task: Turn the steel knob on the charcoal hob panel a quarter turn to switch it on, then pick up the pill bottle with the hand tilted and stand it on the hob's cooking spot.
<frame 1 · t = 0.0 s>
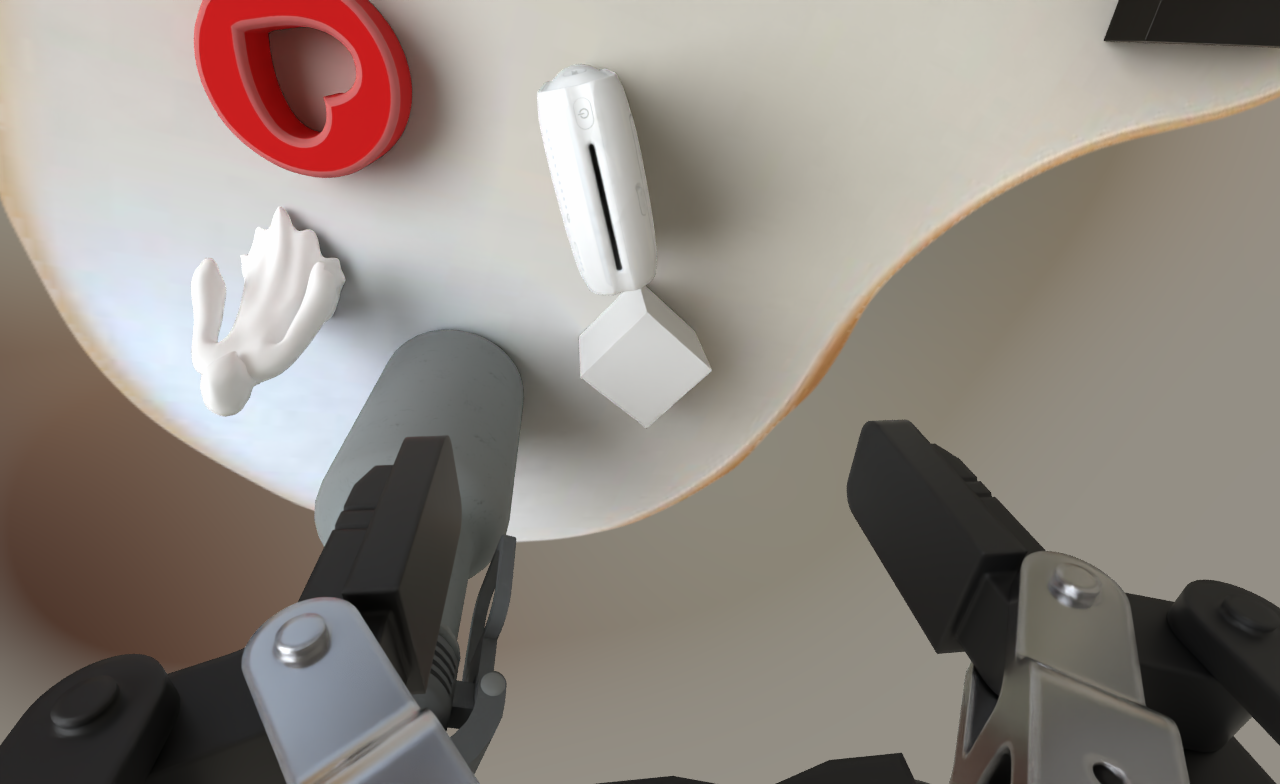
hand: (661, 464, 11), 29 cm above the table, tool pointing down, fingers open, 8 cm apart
water bottle: (460, 385, 43), on the table
decorative ornament: (321, 75, 32), on the table
white cube: (636, 332, 43), on the table
figurine: (298, 268, 38), on the table
photo printer: (593, 156, 36), on the table
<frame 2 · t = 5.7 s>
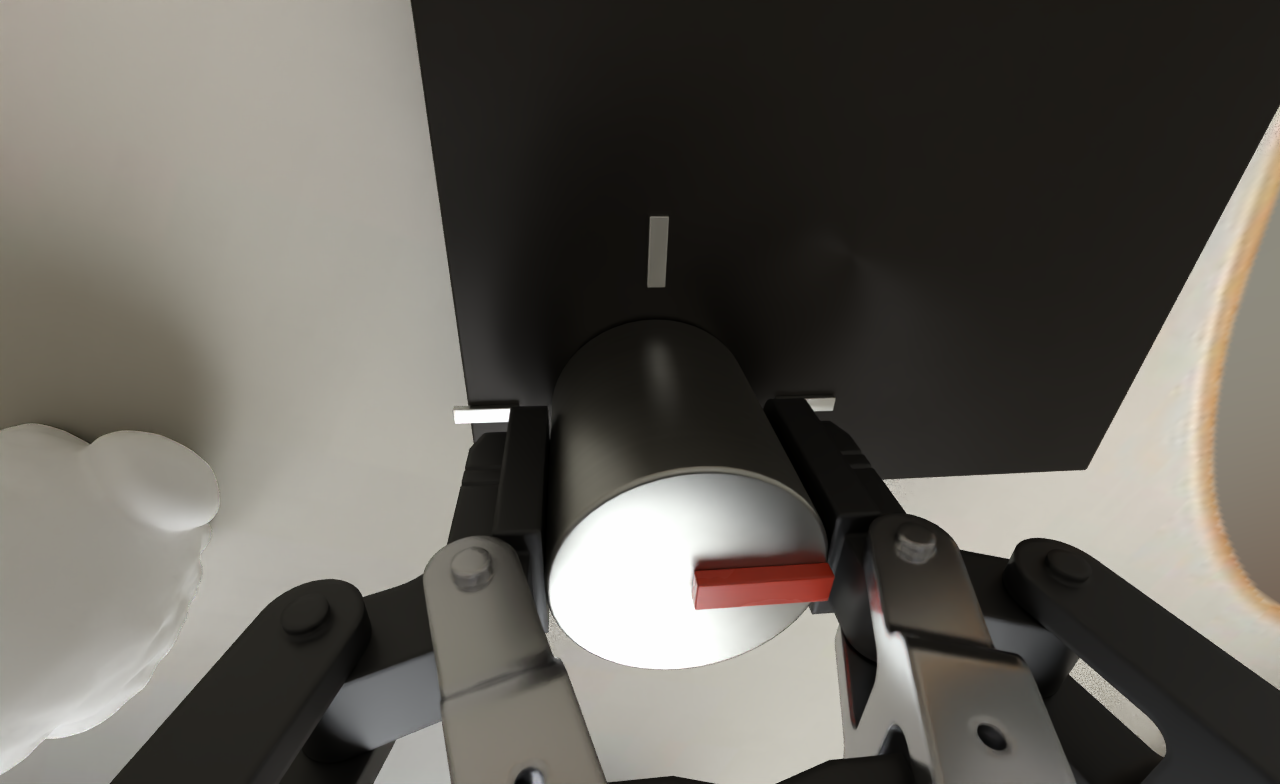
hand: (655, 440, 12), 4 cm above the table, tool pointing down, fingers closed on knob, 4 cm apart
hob: (801, 216, 14), on the table
rabbit: (48, 527, 17), on the table
knob: (667, 483, 11), point 6 cm above the table, hinge at 0.0°, touching gripper
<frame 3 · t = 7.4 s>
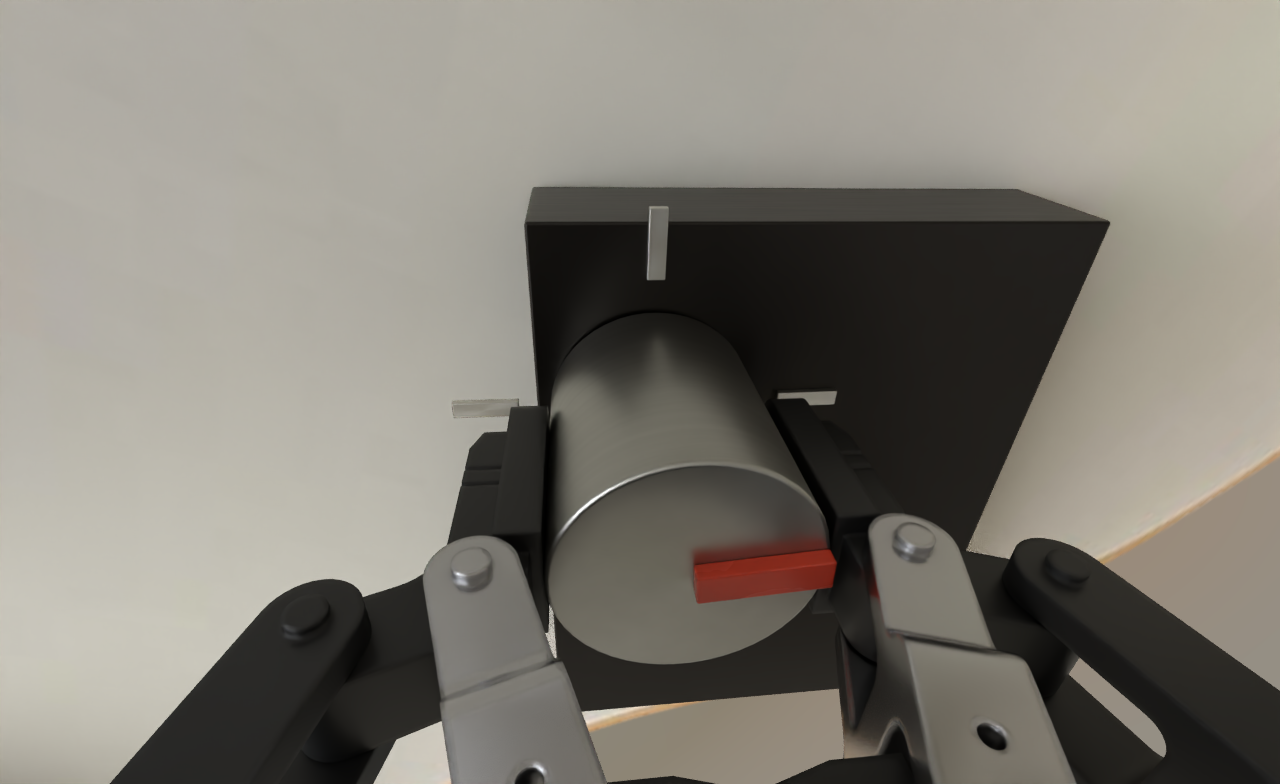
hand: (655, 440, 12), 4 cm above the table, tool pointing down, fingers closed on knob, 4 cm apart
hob: (745, 454, 18), on the table
knob: (667, 477, 11), point 6 cm above the table, hinge at 94.4°, touching gripper
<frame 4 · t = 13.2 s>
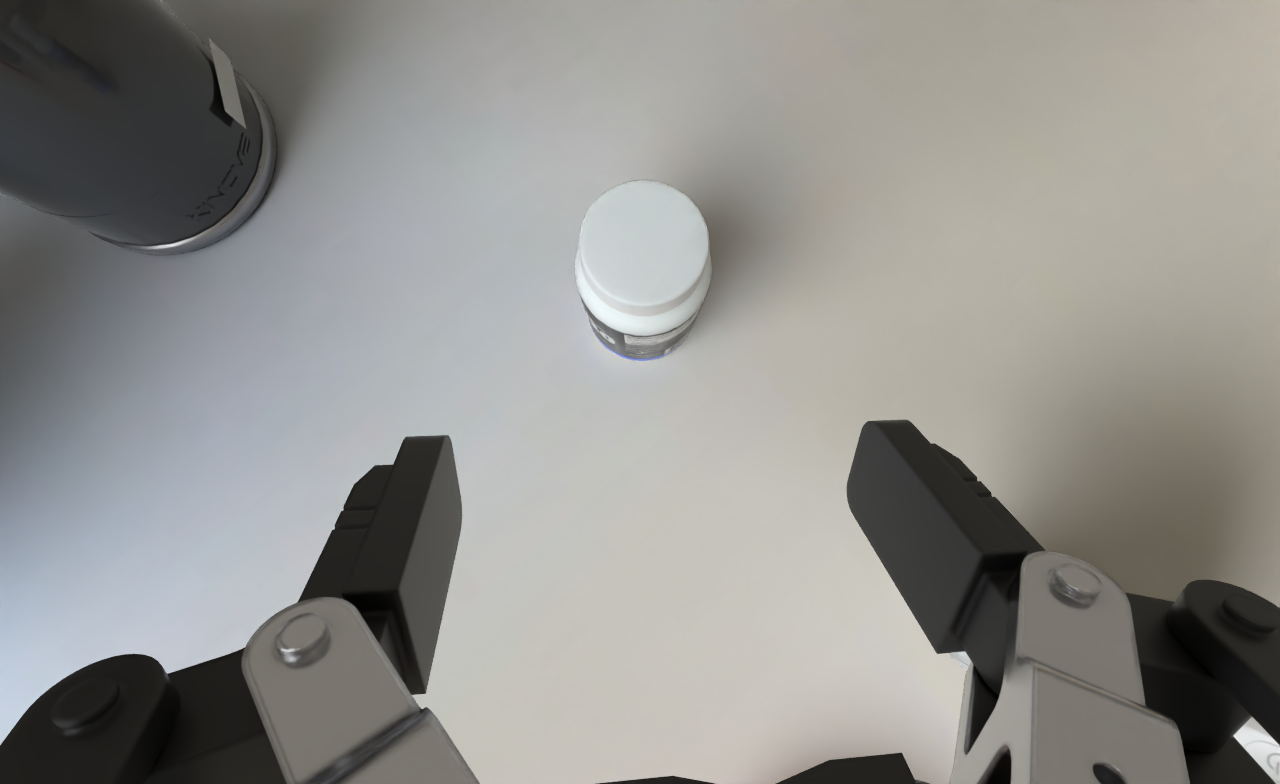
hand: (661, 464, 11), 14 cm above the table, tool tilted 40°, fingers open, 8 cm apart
pill bottle: (641, 312, 26), on the table
photo printer: (1055, 642, 25), on the table
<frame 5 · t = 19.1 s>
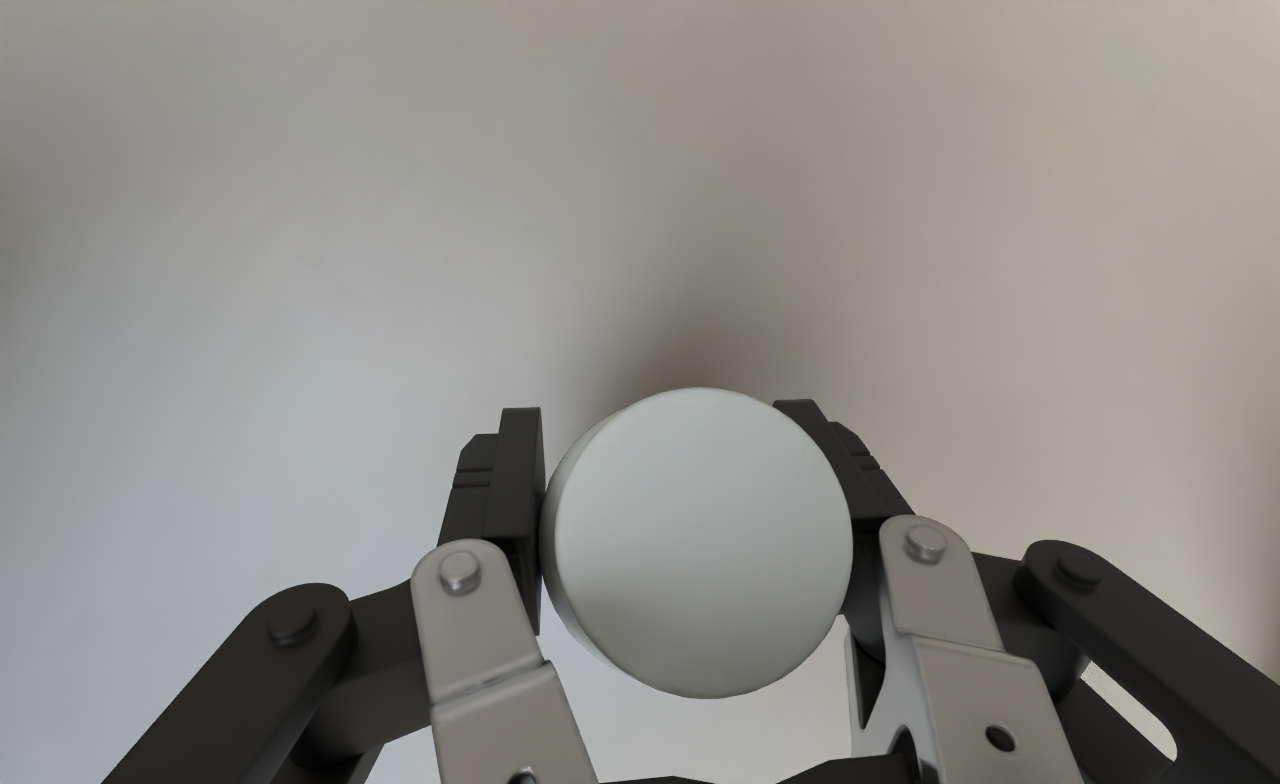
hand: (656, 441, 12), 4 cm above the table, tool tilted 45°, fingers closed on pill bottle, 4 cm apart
pill bottle: (641, 536, 16), on the table, touching gripper
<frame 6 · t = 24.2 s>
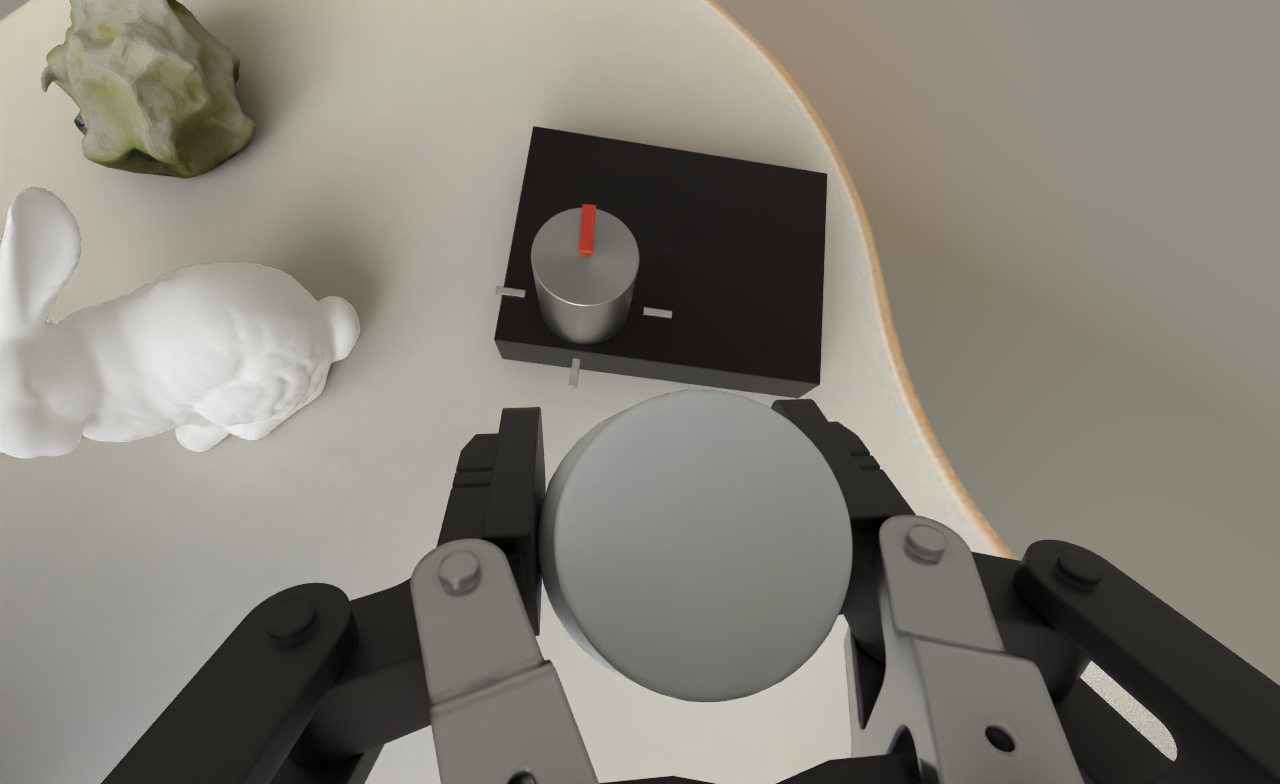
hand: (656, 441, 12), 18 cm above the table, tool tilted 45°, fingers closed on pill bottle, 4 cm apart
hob: (664, 276, 33), on the table
rabbit: (230, 381, 29), on the table
greyish green lumpy piece: (190, 124, 32), on the table
knob: (585, 279, 26), point 6 cm above the table, hinge at 93.8°
pill bottle: (640, 538, 16), point 14 cm above the table, touching gripper
when the fingers open (7 cm above the table, at t = 29.8 s): pill bottle stays where it is, resting on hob.
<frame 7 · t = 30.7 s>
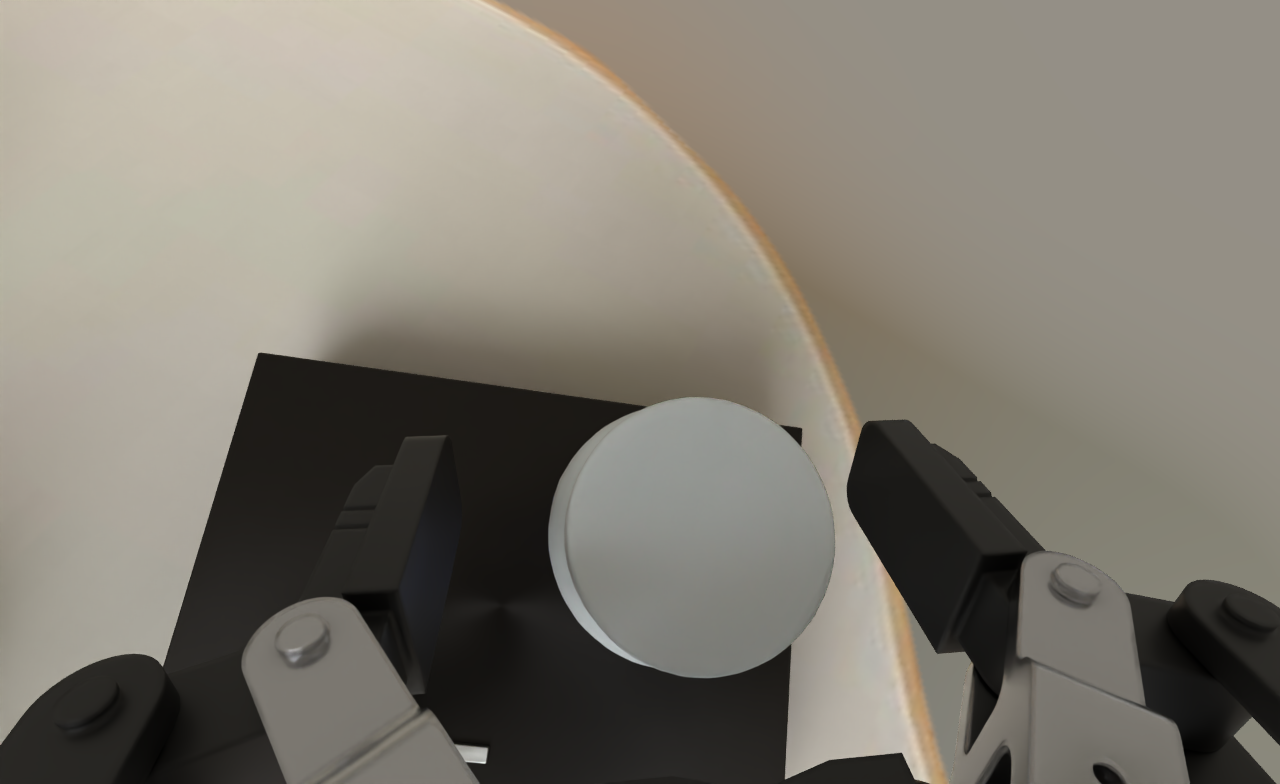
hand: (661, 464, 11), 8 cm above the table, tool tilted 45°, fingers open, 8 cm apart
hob: (514, 595, 19), on the table
pill bottle: (643, 534, 17), point 3 cm above the table, touching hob
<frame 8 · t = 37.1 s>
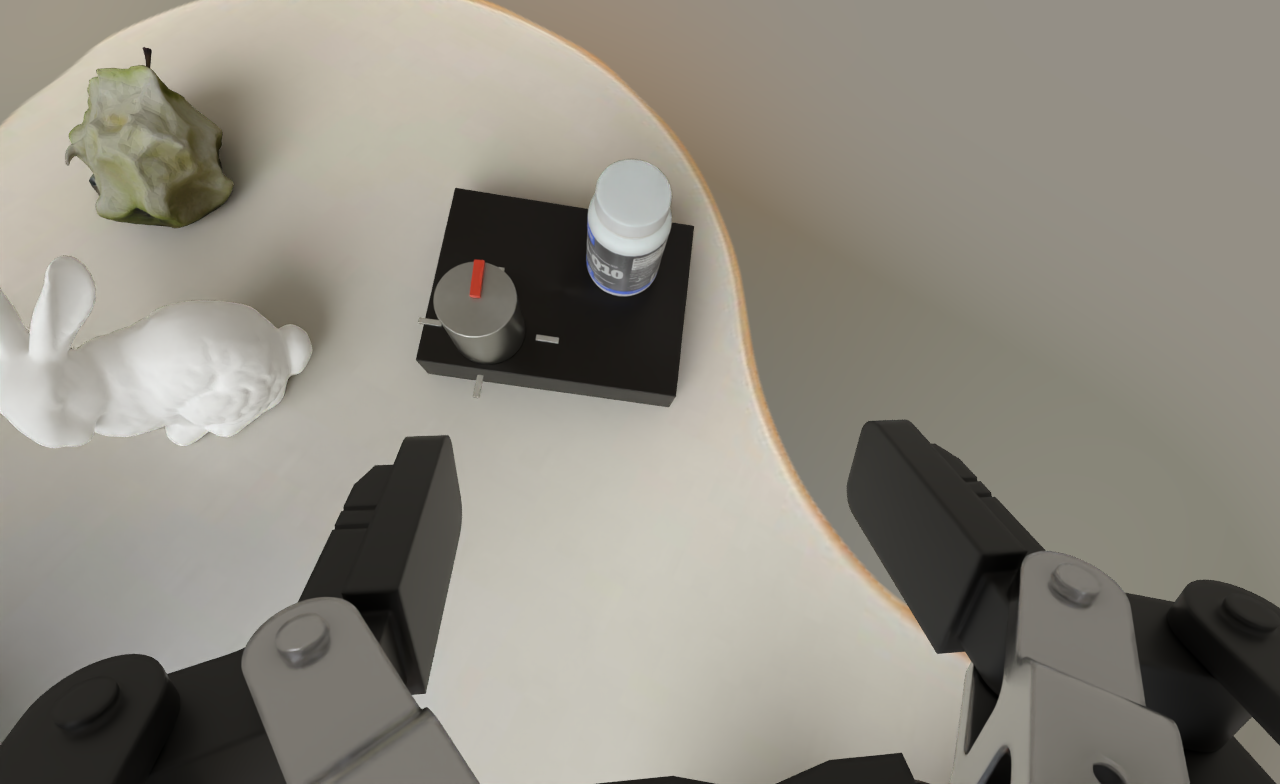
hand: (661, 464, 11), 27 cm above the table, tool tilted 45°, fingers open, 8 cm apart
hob: (563, 307, 40), on the table
rabbit: (210, 390, 37), on the table
greyish green lumpy piece: (182, 182, 40), on the table
knob: (482, 314, 34), point 6 cm above the table, hinge at 93.8°
pill bottle: (622, 266, 38), point 3 cm above the table, touching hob
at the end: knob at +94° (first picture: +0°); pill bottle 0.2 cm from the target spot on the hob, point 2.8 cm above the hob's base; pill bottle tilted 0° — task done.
